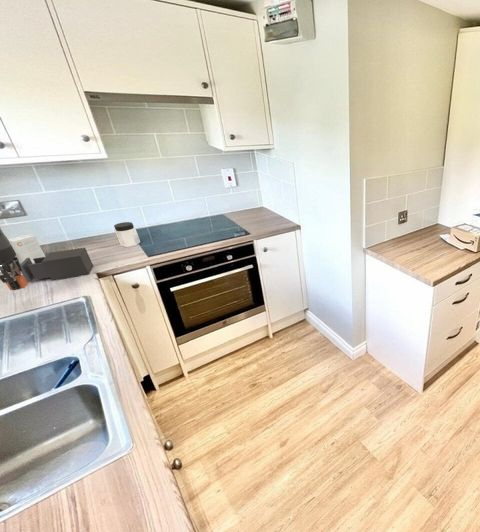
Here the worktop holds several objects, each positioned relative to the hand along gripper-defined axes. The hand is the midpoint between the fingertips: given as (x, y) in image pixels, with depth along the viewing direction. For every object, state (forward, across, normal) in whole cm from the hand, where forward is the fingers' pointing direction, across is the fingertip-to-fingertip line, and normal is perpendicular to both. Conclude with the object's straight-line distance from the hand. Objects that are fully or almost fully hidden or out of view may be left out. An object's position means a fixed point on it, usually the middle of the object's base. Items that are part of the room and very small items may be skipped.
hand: (19, 286), depth 126 cm
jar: (+8, -53, +29) cm, 61 cm away
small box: (+9, -49, -10) cm, 51 cm away
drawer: (+7, -24, -2) cm, 25 cm away
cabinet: (+8, -24, +9) cm, 27 cm away
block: (0, 0, 0) cm, 0 cm away
